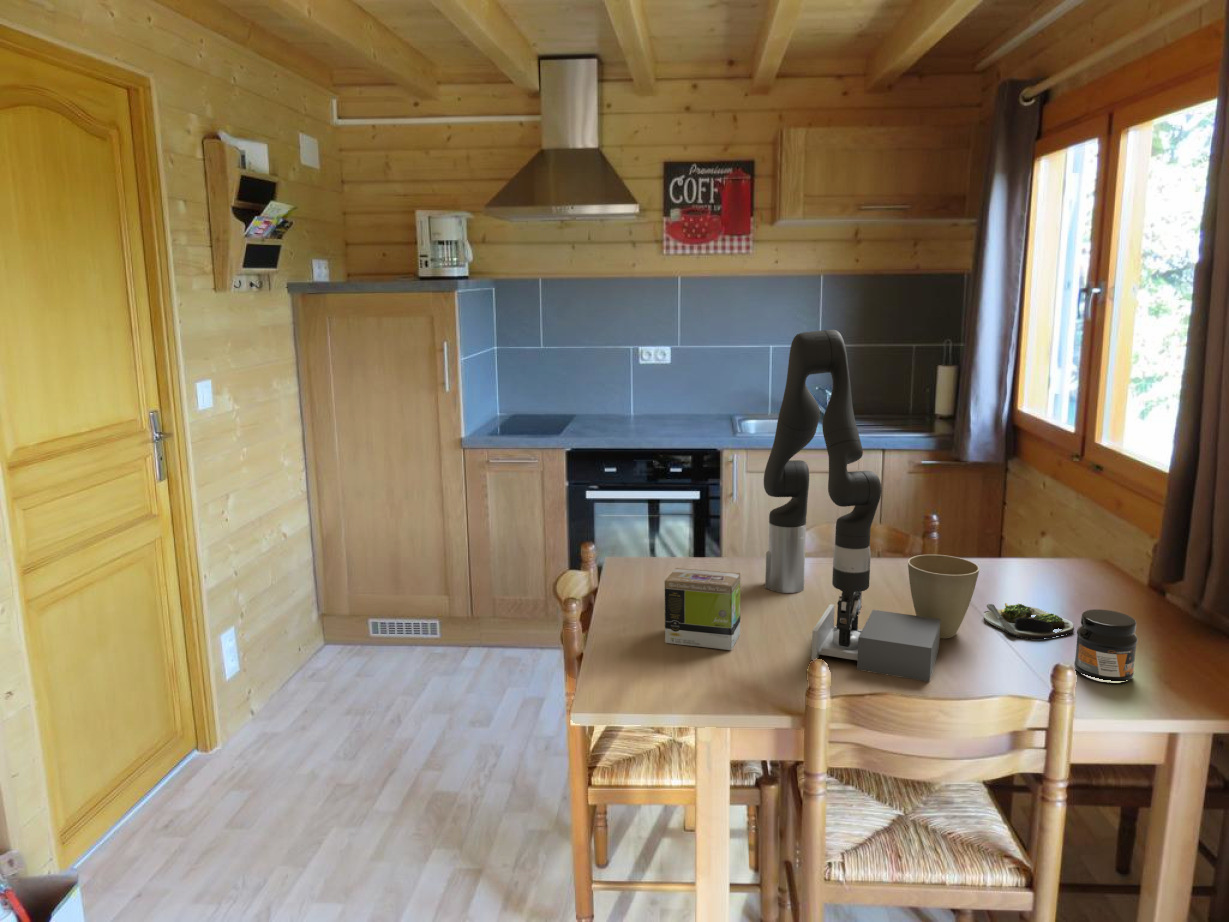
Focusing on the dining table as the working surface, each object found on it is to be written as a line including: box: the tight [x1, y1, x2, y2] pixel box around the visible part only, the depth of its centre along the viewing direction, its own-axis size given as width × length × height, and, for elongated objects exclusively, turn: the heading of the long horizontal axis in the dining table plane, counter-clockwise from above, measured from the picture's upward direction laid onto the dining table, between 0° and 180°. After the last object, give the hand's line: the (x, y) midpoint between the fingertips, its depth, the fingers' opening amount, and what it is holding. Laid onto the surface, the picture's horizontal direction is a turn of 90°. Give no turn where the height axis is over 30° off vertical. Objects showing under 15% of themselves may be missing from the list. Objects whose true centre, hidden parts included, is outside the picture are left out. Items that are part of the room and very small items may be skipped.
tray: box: [811, 603, 863, 661], centre depth 192 cm, size 14×17×6 cm
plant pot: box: [907, 554, 980, 639], centre depth 202 cm, size 15×15×16 cm
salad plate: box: [984, 603, 1075, 640], centre depth 208 cm, size 19×18×5 cm
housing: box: [856, 609, 941, 682], centre depth 188 cm, size 14×17×7 cm
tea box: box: [664, 567, 741, 651], centre depth 199 cm, size 15×10×15 cm, turn 71°
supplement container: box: [1073, 608, 1138, 681], centre depth 180 cm, size 10×10×12 cm
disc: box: [833, 630, 860, 649], centre depth 193 cm, size 6×6×2 cm
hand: (848, 638), depth 193 cm, fingers open, 8 cm apart
